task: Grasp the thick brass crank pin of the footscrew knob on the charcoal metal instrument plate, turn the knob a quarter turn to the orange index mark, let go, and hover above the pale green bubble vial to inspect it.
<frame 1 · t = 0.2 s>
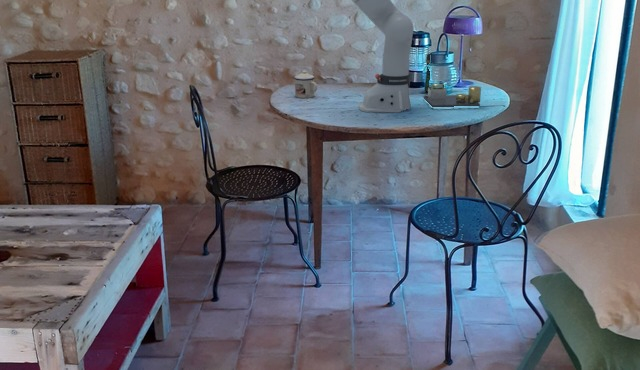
footscrew knob: (468, 93, 276), point 6 cm above the table, hinge at 0.0°
tribrach plate: (450, 104, 282), on the table
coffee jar: (435, 92, 305), on the table
teacup with lid: (307, 97, 299), on the table
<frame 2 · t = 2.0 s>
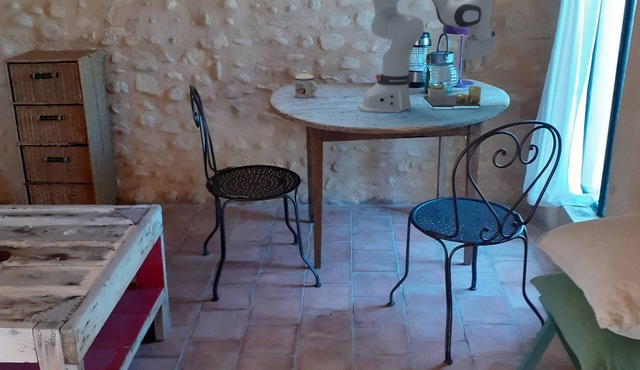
hand: (477, 67, 271), 17 cm above the table, tool pointing down, fingers open, 8 cm apart
nothing on the table moved.
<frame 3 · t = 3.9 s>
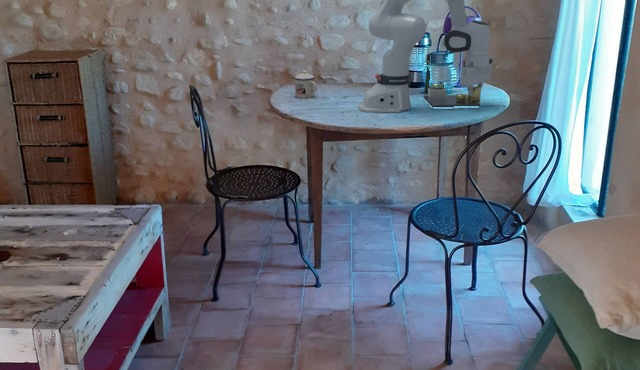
hand: (474, 94, 275), 6 cm above the table, tool pointing down, fingers closed on footscrew knob, 5 cm apart
footscrew knob: (468, 93, 276), point 6 cm above the table, hinge at 0.0°, touching gripper
everything else where it was.
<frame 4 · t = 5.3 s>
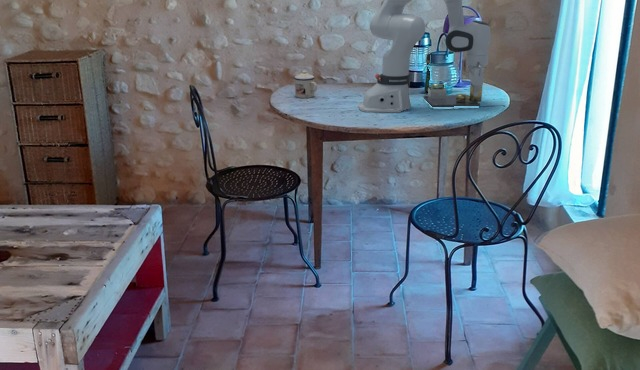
hand: (474, 93, 277), 5 cm above the table, tool pointing down, fingers open, 8 cm apart
footscrew knob: (469, 93, 277), point 5 cm above the table, hinge at 14.2°, touching gripper
everything else where it was.
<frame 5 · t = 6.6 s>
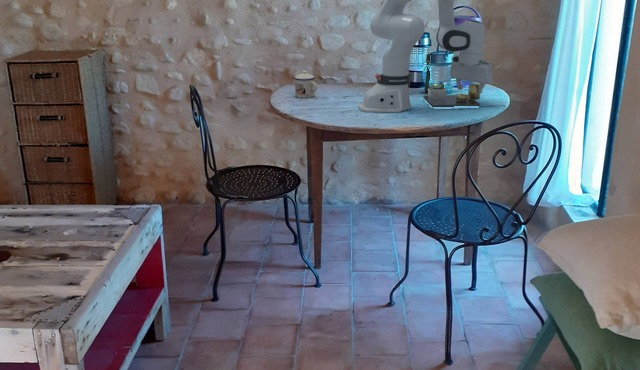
hand: (469, 91, 281), 5 cm above the table, tool pointing down, fingers open, 8 cm apart
footscrew knob: (468, 91, 279), point 6 cm above the table, hinge at 58.7°, touching gripper
everything else where it was.
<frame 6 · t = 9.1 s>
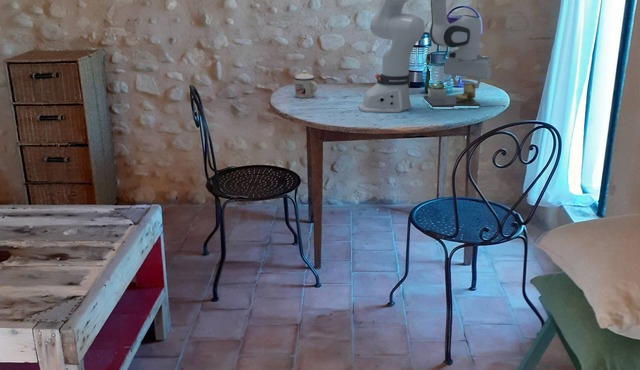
hand: (465, 86, 282), 7 cm above the table, tool pointing down, fingers open, 8 cm apart
footscrew knob: (465, 91, 280), point 6 cm above the table, hinge at 86.9°, touching gripper
everything else where it was.
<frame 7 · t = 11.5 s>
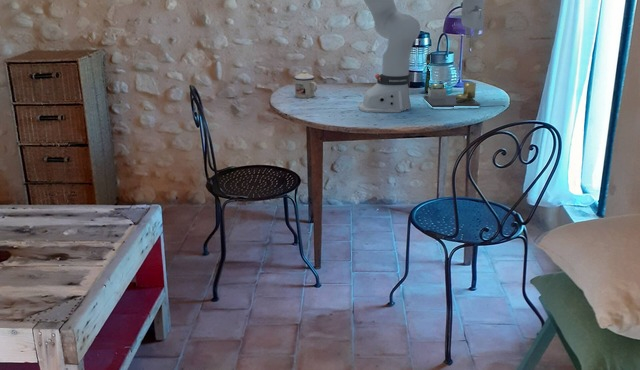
hand: (471, 39, 276), 27 cm above the table, tool pointing down, fingers open, 8 cm apart
footscrew knob: (465, 91, 280), point 5 cm above the table, hinge at 87.3°
everything else where it was.
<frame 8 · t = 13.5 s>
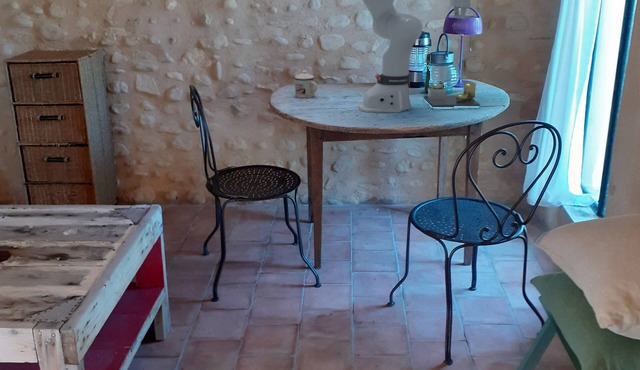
hand: (459, 17, 282), 35 cm above the table, tool pointing down, fingers open, 8 cm apart
nothing on the table moved.
at the end: footscrew knob at +87° (first picture: +0°); the gripper is holding nothing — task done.
